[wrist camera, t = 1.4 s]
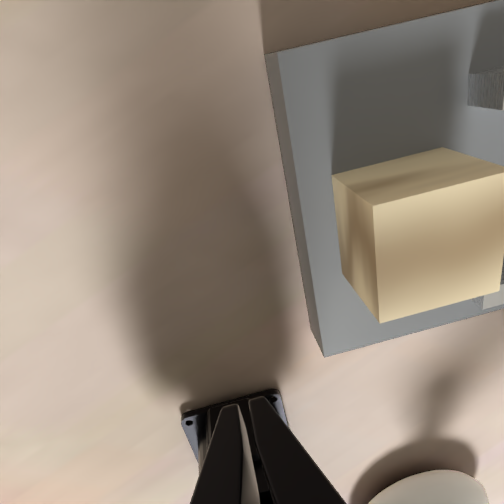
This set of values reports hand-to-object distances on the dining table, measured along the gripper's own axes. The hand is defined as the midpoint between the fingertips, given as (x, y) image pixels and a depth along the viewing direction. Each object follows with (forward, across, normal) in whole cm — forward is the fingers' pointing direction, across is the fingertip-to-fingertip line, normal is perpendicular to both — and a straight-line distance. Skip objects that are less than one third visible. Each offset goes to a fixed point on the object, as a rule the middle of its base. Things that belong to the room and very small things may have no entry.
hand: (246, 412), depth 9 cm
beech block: (+8, -8, 0) cm, 12 cm away
